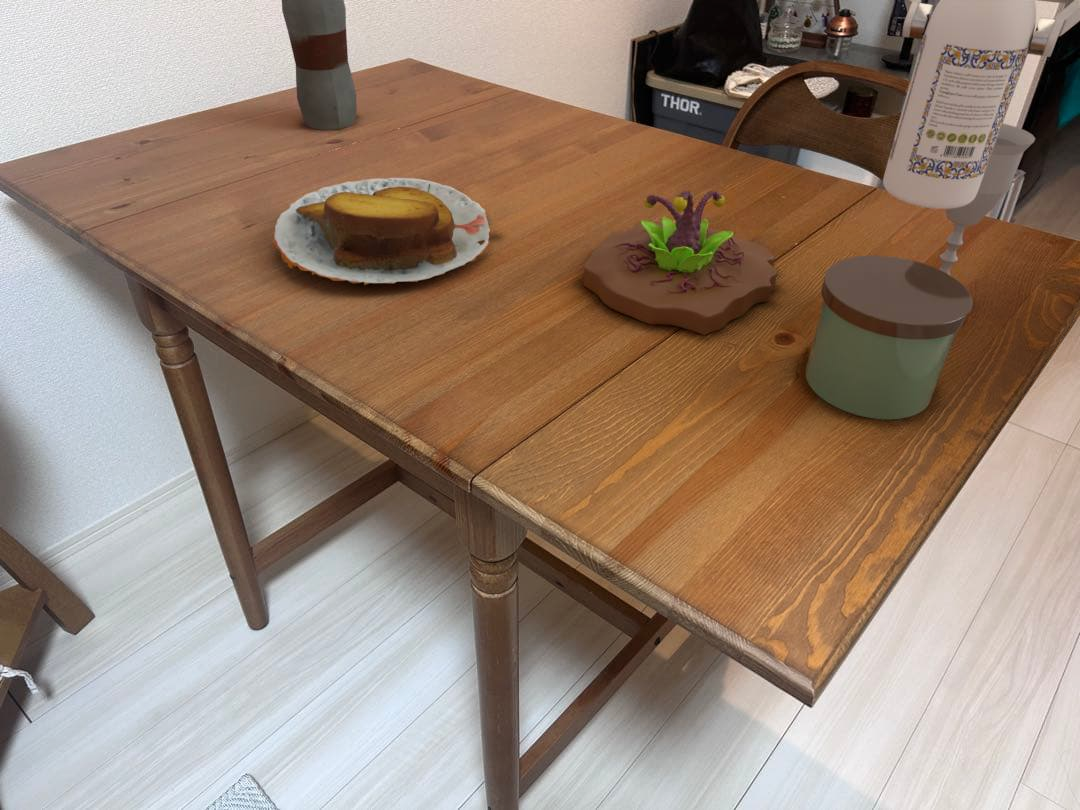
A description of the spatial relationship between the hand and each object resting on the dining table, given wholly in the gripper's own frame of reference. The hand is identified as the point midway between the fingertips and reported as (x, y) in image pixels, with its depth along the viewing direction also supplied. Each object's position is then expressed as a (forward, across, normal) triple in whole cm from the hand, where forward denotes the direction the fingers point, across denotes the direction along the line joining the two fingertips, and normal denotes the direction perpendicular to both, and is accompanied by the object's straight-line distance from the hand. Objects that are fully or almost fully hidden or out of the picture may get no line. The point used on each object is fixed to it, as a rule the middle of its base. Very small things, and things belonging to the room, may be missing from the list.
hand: (975, 41), depth 57 cm
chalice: (+7, +2, +36) cm, 36 cm away
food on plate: (+22, -56, +21) cm, 64 cm away
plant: (+15, -23, +27) cm, 39 cm away
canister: (+21, 0, +22) cm, 30 cm away
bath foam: (+8, 0, +9) cm, 12 cm away
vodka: (+2, -91, +41) cm, 100 cm away
